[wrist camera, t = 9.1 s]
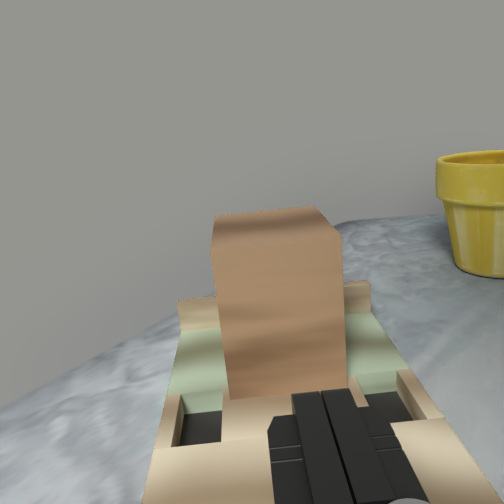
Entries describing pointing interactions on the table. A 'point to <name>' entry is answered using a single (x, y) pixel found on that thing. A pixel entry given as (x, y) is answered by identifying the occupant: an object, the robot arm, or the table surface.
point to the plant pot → (474, 209)
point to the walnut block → (280, 301)
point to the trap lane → (266, 407)
